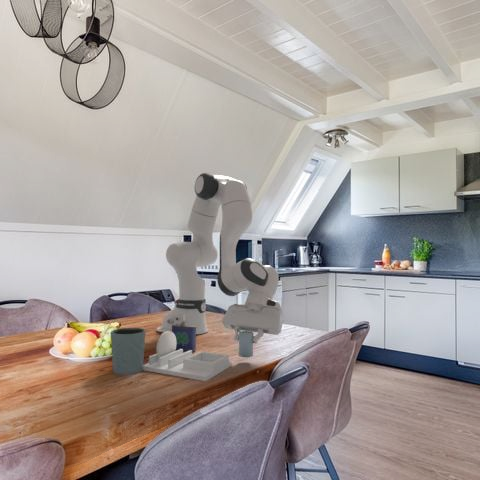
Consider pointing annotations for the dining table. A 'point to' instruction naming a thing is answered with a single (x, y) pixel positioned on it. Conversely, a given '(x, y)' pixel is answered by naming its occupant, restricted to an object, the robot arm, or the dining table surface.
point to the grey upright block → (245, 344)
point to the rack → (185, 360)
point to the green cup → (127, 350)
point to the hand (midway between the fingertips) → (245, 341)
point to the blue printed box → (185, 336)
